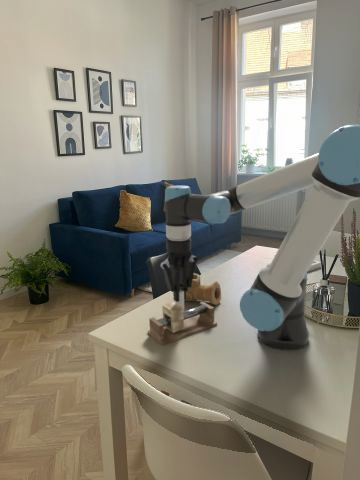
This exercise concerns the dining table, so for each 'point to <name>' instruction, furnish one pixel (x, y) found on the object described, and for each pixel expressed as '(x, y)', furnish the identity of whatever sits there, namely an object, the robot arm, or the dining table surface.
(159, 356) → the dining table surface
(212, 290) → the pipe
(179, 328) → the collar
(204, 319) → the cradle
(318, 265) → the parts corral
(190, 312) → the rod
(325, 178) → the robot arm
